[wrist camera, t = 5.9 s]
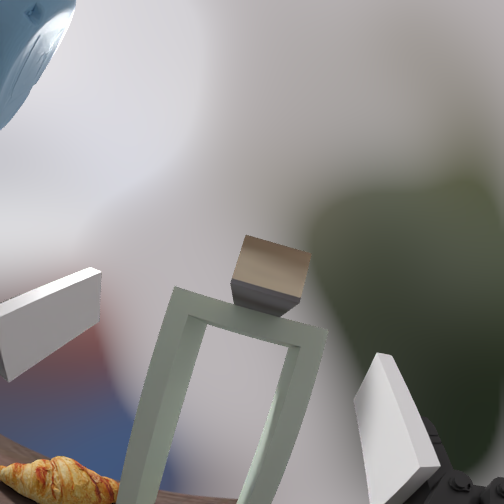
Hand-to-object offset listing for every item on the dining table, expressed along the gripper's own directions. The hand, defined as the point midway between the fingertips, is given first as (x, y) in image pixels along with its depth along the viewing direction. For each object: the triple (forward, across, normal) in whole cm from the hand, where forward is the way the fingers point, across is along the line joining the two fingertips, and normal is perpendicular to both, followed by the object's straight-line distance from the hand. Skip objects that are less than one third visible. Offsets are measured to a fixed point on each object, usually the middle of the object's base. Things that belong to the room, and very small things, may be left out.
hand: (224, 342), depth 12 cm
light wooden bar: (+15, 0, +5) cm, 16 cm away
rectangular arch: (0, 0, +35) cm, 35 cm away
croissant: (+1, +18, +37) cm, 41 cm away
